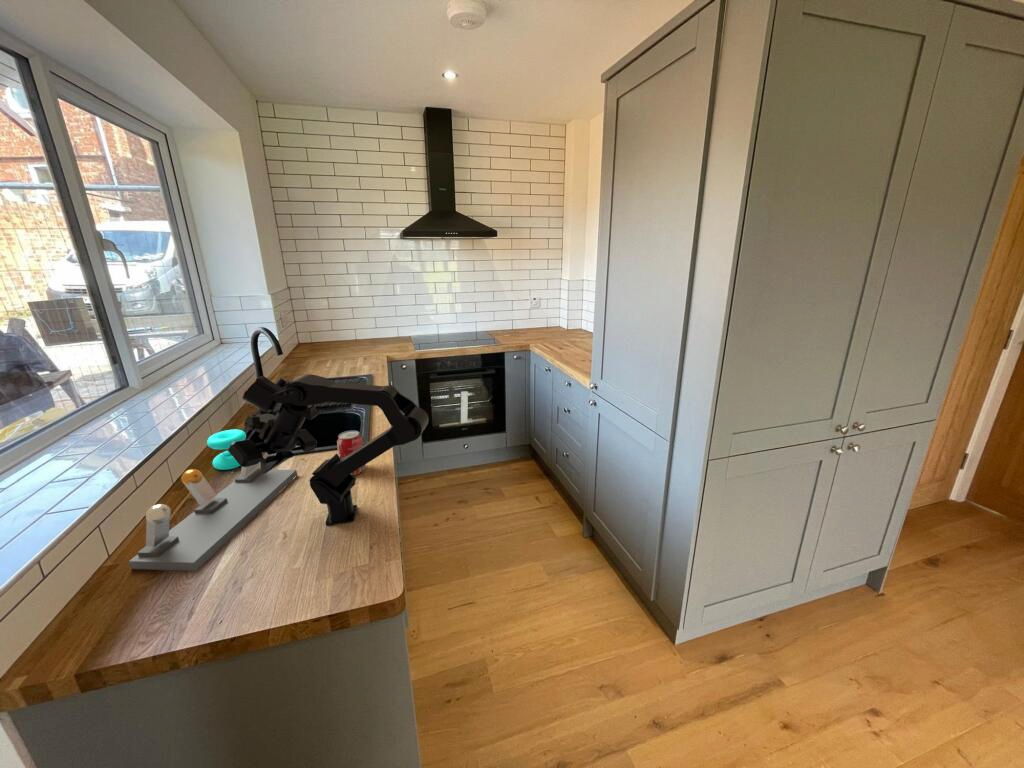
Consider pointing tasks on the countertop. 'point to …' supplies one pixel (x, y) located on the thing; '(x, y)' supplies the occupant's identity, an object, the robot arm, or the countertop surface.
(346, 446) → the soda can
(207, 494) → the orange lever
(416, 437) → the robot arm
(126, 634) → the countertop surface
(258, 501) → the switch panel
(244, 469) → the grey paddle
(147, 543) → the cream lever
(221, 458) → the donuts
